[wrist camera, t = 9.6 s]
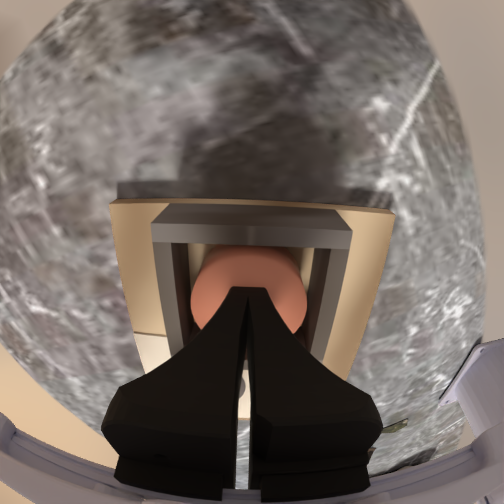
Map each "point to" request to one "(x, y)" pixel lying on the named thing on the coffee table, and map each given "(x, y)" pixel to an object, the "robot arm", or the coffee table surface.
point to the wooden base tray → (259, 234)
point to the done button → (250, 280)
